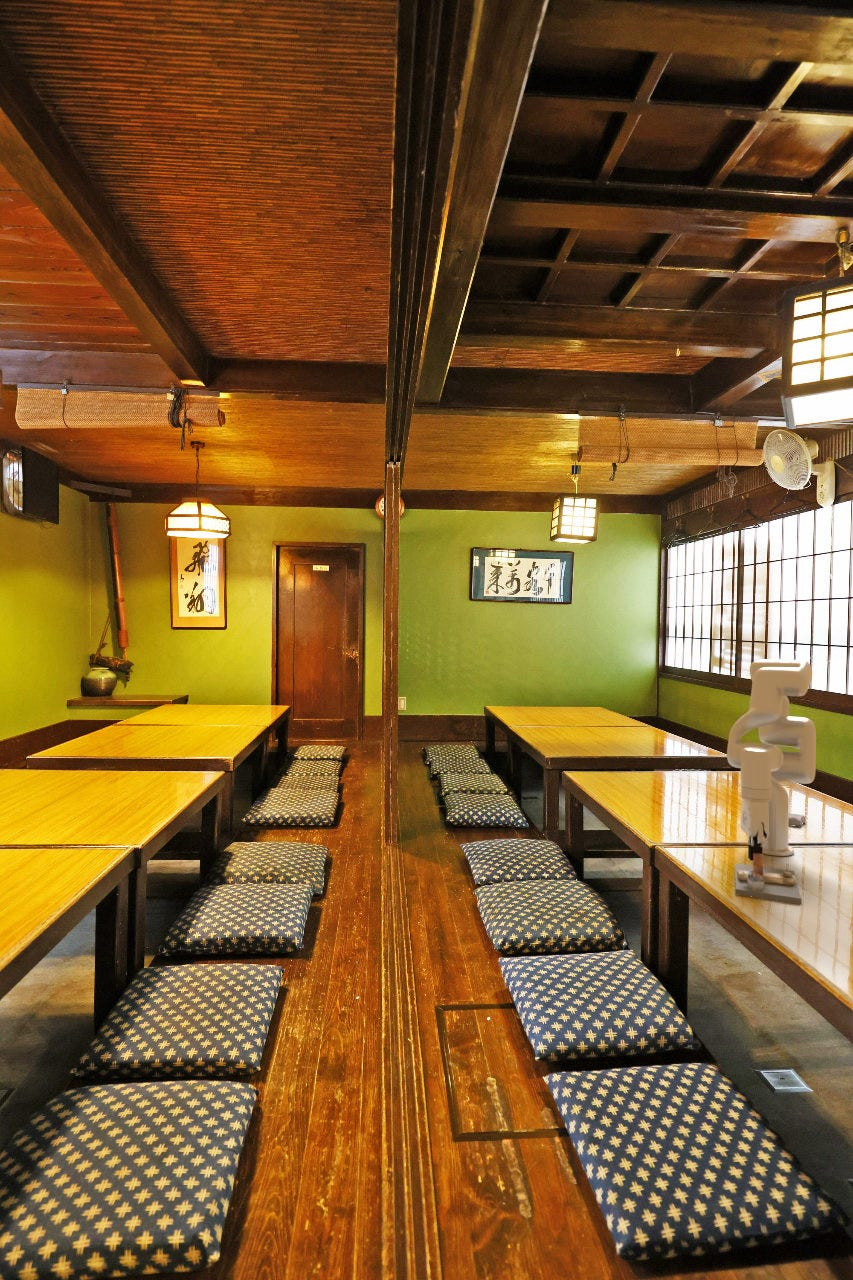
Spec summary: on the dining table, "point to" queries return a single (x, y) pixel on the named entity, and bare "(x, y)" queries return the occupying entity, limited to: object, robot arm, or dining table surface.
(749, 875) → the block
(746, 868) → the base board
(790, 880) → the ash link
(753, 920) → the dining table surface
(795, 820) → the stone block
